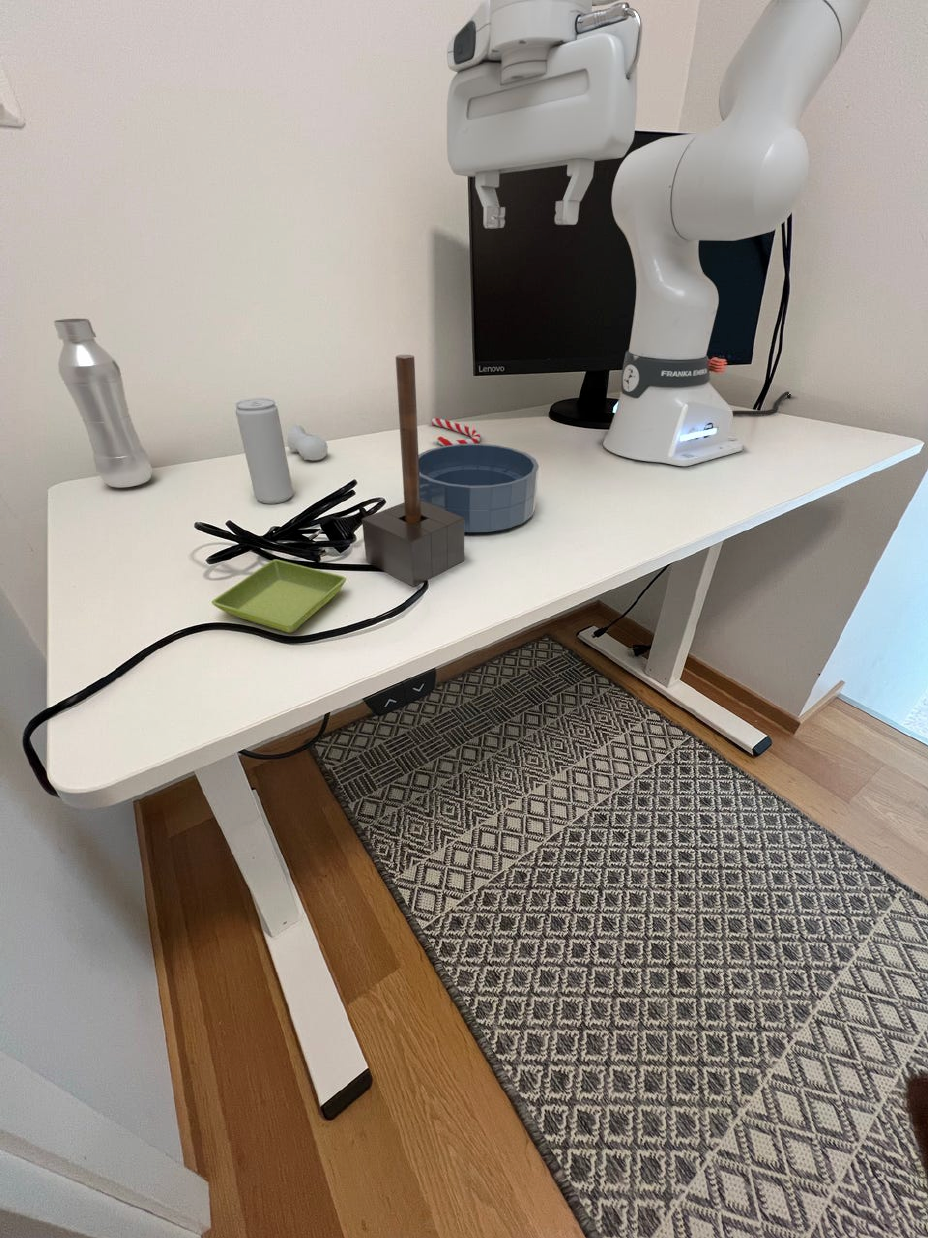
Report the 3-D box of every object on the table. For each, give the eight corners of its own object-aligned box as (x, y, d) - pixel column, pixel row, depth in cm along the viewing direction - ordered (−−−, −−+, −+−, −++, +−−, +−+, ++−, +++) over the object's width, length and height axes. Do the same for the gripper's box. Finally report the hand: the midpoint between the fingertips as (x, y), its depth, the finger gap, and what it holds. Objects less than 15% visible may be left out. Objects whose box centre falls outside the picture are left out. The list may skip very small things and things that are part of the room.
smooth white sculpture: (332, 468, 84) (300, 464, 81) (312, 452, 89) (281, 448, 86) (337, 440, 82) (304, 435, 79) (316, 426, 87) (285, 421, 84)
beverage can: (257, 507, 69) (234, 409, 62) (254, 493, 73) (232, 399, 66) (296, 501, 70) (278, 405, 63) (291, 488, 74) (273, 396, 67)
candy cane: (449, 414, 100) (490, 436, 89) (449, 421, 101) (490, 444, 90) (410, 420, 97) (448, 443, 86) (410, 427, 98) (448, 451, 87)
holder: (417, 538, 62) (415, 497, 59) (464, 560, 58) (464, 517, 55) (366, 561, 58) (361, 518, 55) (413, 587, 54) (411, 542, 51)
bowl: (502, 480, 77) (504, 438, 73) (556, 524, 65) (561, 476, 62) (399, 496, 72) (396, 451, 69) (437, 546, 61) (436, 495, 57)
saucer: (350, 595, 52) (348, 576, 51) (294, 646, 46) (289, 626, 45) (278, 576, 55) (274, 558, 54) (214, 621, 49) (208, 602, 47)
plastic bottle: (129, 473, 78) (72, 315, 67) (167, 479, 77) (116, 318, 65) (92, 489, 73) (23, 322, 62) (132, 496, 72) (69, 325, 60)
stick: (420, 556, 59) (411, 353, 47) (425, 563, 58) (416, 357, 46) (406, 559, 58) (393, 355, 47) (410, 566, 57) (398, 358, 45)
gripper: (667, 5, 43) (636, 223, 50) (481, 62, 55) (479, 230, 62) (622, -19, 39) (596, 220, 47) (434, 48, 51) (438, 228, 59)
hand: (528, 226), depth 55 cm, fingers open, 8 cm apart
